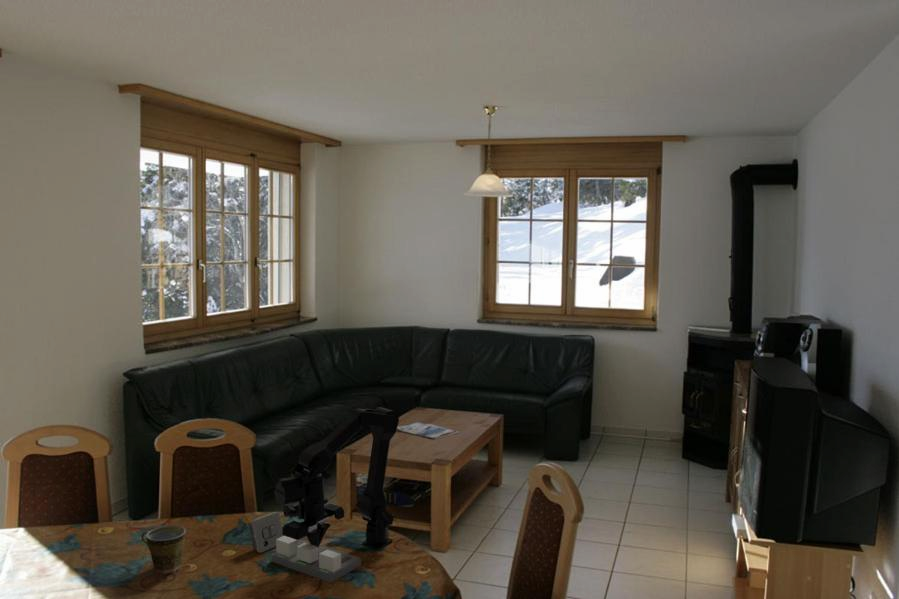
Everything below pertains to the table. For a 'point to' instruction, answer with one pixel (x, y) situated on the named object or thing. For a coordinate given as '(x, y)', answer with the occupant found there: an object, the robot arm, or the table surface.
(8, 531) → the table surface
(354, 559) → the breaker panel
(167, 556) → the ceramic cup
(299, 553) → the handle
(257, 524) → the electrical switch
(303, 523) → the robot arm
